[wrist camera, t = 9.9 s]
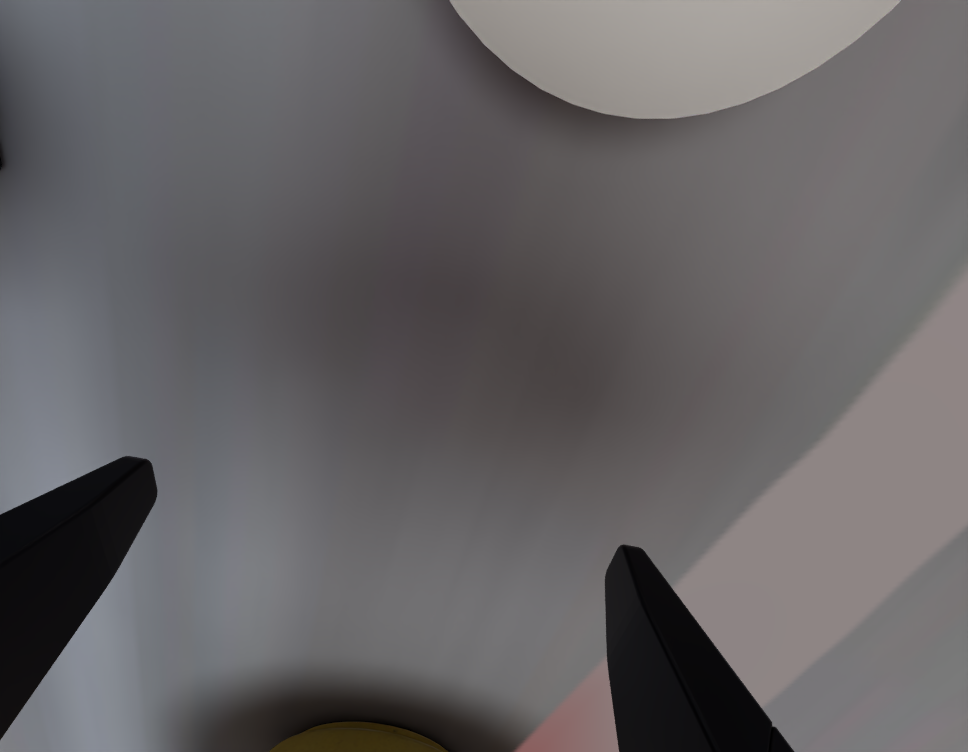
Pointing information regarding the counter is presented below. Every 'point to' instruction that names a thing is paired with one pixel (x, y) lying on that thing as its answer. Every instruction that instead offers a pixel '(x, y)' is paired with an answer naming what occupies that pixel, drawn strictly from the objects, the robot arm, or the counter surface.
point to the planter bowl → (357, 739)
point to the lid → (666, 48)
